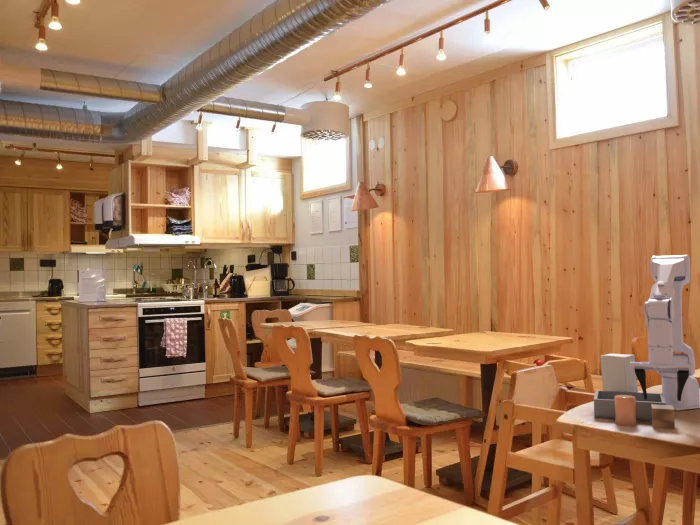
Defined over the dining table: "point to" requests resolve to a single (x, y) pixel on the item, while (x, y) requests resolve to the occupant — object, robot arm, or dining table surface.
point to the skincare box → (618, 373)
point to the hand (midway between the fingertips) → (662, 399)
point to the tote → (606, 399)
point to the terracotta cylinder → (625, 410)
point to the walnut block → (662, 416)
